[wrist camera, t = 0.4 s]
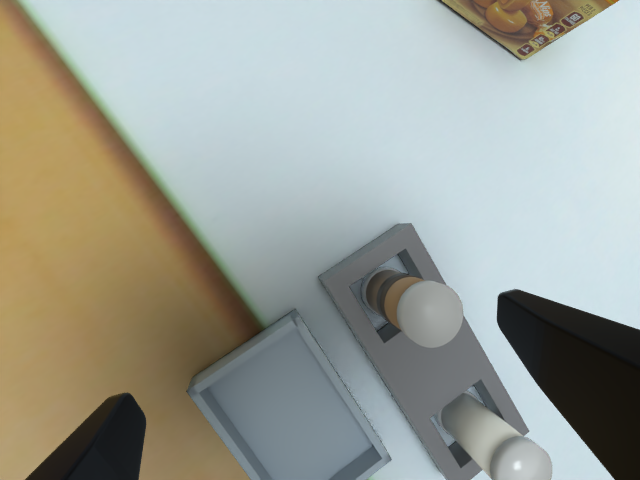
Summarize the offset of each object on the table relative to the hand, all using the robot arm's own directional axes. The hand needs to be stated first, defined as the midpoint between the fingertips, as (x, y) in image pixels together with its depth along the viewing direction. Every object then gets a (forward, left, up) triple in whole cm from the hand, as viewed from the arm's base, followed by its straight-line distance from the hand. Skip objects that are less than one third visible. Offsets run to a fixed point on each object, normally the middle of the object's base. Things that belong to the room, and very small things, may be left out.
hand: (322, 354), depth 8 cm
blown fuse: (-5, -6, -15) cm, 17 cm away
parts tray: (-9, +4, -15) cm, 18 cm away
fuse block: (-11, -6, -15) cm, 19 cm away
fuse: (-16, -6, -15) cm, 23 cm away
